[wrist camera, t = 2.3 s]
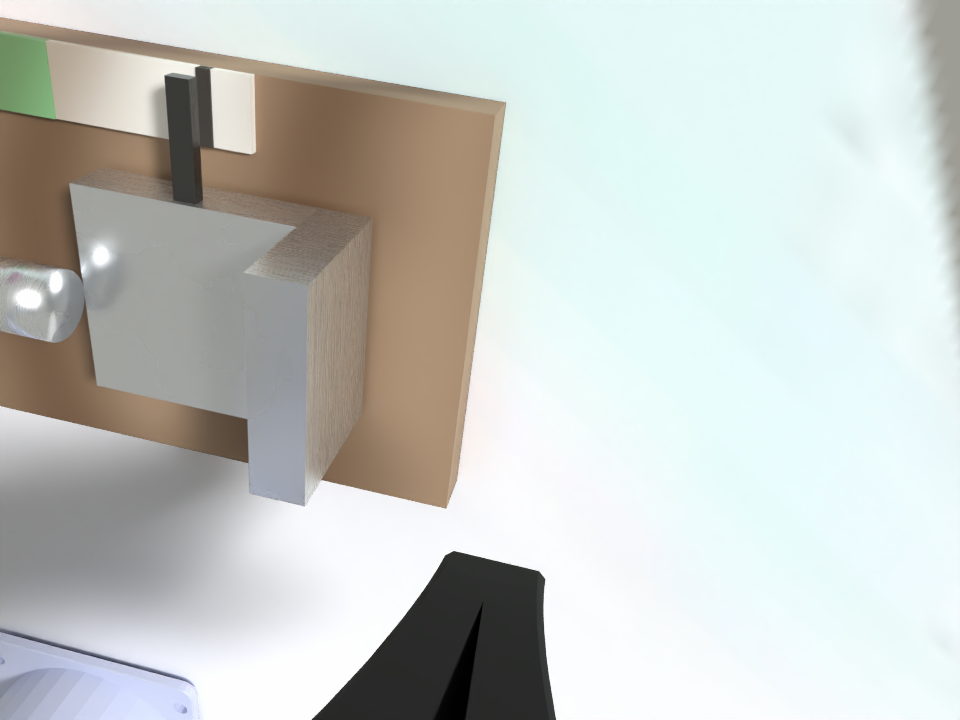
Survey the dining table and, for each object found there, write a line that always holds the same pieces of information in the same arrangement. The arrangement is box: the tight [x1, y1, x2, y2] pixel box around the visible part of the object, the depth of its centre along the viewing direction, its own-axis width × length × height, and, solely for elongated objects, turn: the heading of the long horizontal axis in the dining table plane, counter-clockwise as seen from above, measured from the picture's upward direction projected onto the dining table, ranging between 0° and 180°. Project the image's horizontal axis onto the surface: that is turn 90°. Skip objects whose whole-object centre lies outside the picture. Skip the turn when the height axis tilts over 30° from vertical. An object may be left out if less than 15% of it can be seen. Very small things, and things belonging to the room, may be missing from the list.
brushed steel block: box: [0, 73, 373, 506], centre depth 17 cm, size 8×8×4 cm
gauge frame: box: [0, 17, 506, 508], centre depth 18 cm, size 20×10×6 cm, turn 83°
